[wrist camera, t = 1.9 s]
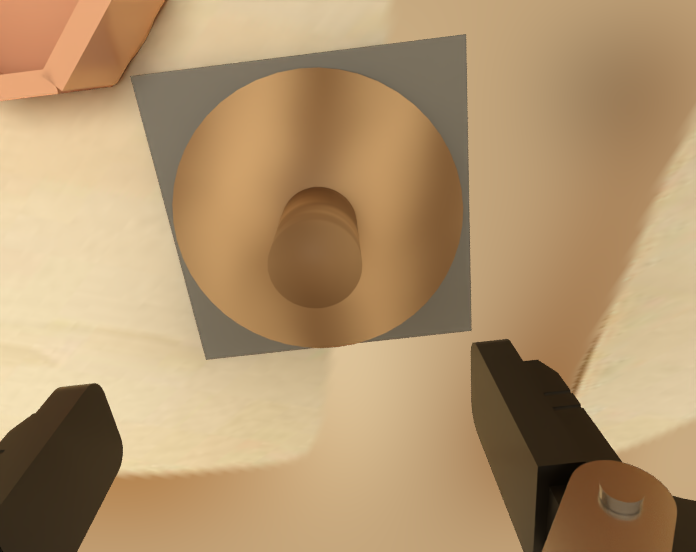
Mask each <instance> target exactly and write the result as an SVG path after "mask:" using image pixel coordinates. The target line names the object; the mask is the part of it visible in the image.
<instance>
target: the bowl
mask: <svg viewBox="0 0 696 552" xmlns="http://www.w3.org/2000/svg"><path fill="white" fill-rule="evenodd" d="M164 1H165V0H0V101H4V100H12V99H20V98H28V97H36V96H44V95H52V94H60V93H68V92H75V91H83V90H90V89H97V88H105V87H112V86H113V85H114V84H117V83H118V81H119V79H120V77H121V76H122V74H123V72H124V70H125V69H126V67H127V65H128V64H129V62H130V60H131V59H132V58H133V57H134V56H135V55H136V54H137V52H138V51H139V49H140V48H141V46H142V45H143V43H144V42H145V40H146V38H147V36H148V34H149V32H150V30H151V28H152V25H153V22H154V19H155V17H156V15H157V13H158V12H159V10H160V8H161V6H162V5H163V3H164Z"/></svg>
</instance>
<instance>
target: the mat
mask: <svg viewBox="0 0 696 552" xmlns="http://www.w3.org/2000/svg"><path fill="white" fill-rule="evenodd" d="M466 65H467V63H466V34H464V35H457V36H448V37H440V38H432V39H424V40H417V41H409V42H401V43H393V44H385V45H377V46H369V47H361V48H353V49H345V50H337V51H329V52H321V53H313V54H305V55H297V56H289V57H281V58H273V59H265V60H257V61H249V62H241V63H233V64H225V65H217V66H209V67H201V68H193V69H185V70H177V71H169V72H161V73H153V74H145V75H137V76H130V77H131V81H132V85H133V88H134V92H135V96H136V99H137V103H138V107H139V111H140V114H141V118H142V122H143V126H144V129H145V133H146V137H147V141H148V144H149V148H150V152H151V155H152V159H153V163H154V167H155V170H156V174H157V178H158V182H159V185H160V189H161V193H162V197H163V200H164V204H165V208H166V212H167V215H168V219H169V223H170V226H171V230H172V234H173V238H174V241H175V245H176V249H177V253H178V256H179V260H180V264H181V268H182V271H183V275H184V279H185V283H186V286H187V290H188V294H189V297H190V301H191V305H192V309H193V312H194V316H195V320H196V324H197V327H198V331H199V335H200V339H201V342H202V346H203V350H204V353H205V357H206V360H208V359H217V358H226V357H235V356H244V355H253V354H262V353H272V352H281V351H290V350H299V349H308V348H311V347H300V346H294V345H288V344H284V343H281V342H277V341H274V340H270V339H268V338H265V337H263V336H260V335H258V334H256V333H253V332H252V331H250V330H248V329H246V328H245V327H243V326H241V325H239V324H238V323H236V322H235V321H234V320H232V319H231V318H229V317H228V316H227V315H225V314H224V313H223V312H222V311H221V310H220V309H219V308H218V307H216V306H215V305H214V304H213V303H212V302H211V301H210V299H209V298H208V297H207V296H206V295H205V294H204V292H203V291H202V290H201V289H200V287H199V286H198V284H197V283H196V281H195V280H194V278H193V277H192V275H191V274H190V272H189V270H188V268H187V265H186V263H185V261H184V259H183V257H182V254H181V251H180V248H179V245H178V242H177V238H176V233H175V228H174V223H173V207H172V203H173V190H174V183H175V178H176V174H177V169H178V166H179V163H180V161H181V158H182V155H183V153H184V150H185V148H186V146H187V144H188V143H189V141H190V139H191V137H192V135H193V134H194V132H195V130H196V129H197V128H198V127H199V125H200V124H201V123H202V121H203V120H204V119H205V117H206V116H207V115H208V114H209V113H210V112H211V111H212V110H213V109H214V108H215V107H216V106H217V105H218V104H219V103H220V102H222V101H223V100H224V99H226V98H227V97H228V96H230V95H231V94H233V93H234V92H235V91H237V90H238V89H240V88H242V87H244V86H246V85H248V84H250V83H252V82H254V81H255V80H258V79H261V78H264V77H267V76H269V75H272V74H275V73H278V72H283V71H288V70H293V69H299V68H317V67H319V68H331V69H340V70H345V71H349V72H353V73H358V74H361V75H363V76H366V77H368V78H371V79H374V80H376V81H378V82H380V83H382V84H384V85H386V86H387V87H389V88H391V89H393V90H395V91H396V92H398V93H399V94H401V95H402V96H403V97H405V98H406V99H407V100H409V101H410V102H411V103H413V104H414V105H415V106H416V107H417V108H418V109H419V110H420V111H421V112H422V113H423V114H424V115H425V116H426V117H427V118H428V119H429V120H430V122H431V123H432V124H433V126H434V127H435V128H436V130H437V131H438V132H439V133H440V135H441V137H442V138H443V140H444V142H445V144H446V146H447V147H448V149H449V151H450V153H451V156H452V158H453V161H454V163H455V166H456V168H457V172H458V176H459V180H460V184H461V189H462V200H463V222H462V230H461V236H460V241H459V245H458V248H457V251H456V254H455V257H454V260H453V262H452V264H451V267H450V269H449V271H448V273H447V275H446V277H445V278H444V280H443V281H442V283H441V285H440V286H439V288H438V289H437V291H436V292H435V293H434V294H433V295H432V297H431V298H430V299H429V300H428V301H427V303H426V304H425V305H424V306H422V307H421V308H420V309H419V310H418V311H417V312H416V313H415V314H414V315H413V316H411V317H410V318H409V319H407V320H406V321H404V322H403V323H402V324H400V325H399V326H397V327H395V328H393V329H392V330H390V331H388V332H386V333H384V334H382V335H379V336H377V337H375V338H372V339H370V340H366V341H363V342H372V341H380V340H389V339H400V338H409V337H417V336H427V335H436V334H445V333H454V332H464V331H471V280H470V229H469V228H470V227H469V226H470V225H469V171H468V122H467V119H468V117H467V66H466ZM363 342H360V343H363Z"/></svg>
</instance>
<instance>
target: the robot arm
mask: <svg viewBox="0 0 696 552" xmlns="http://www.w3.org/2000/svg"><path fill="white" fill-rule="evenodd" d="M471 402H472V413H473V418H474V423H475V427H476V430H477V433H478V436H479V439H480V441H481V444H482V446H483V449H484V451H485V454H486V457H487V459H488V462H489V464H490V467H491V469H492V472H493V474H494V477H495V480H496V482H497V485H498V487H499V490H500V492H501V495H502V497H503V500H504V503H505V505H506V508H507V510H508V512H509V516H510V518H511V521H512V523H513V526H514V528H515V531H516V533H517V536H518V539H519V541H520V543H521V546H522V549H523V551H524V552H696V501H693V500H688V499H683V498H679V497H675V496H672V495H671V493H670V492H669V490H668V489H667V488H666V487H665V486H664V485H663V484H662V483H661V482H660V481H659V480H658V479H656V478H655V477H654V476H652V475H651V474H649V473H648V472H645V471H644V470H642V469H640V468H638V467H635V466H633V465H630V464H626V463H623V462H622V461H621V460H620V458H619V457H618V456H617V454H616V453H615V451H614V450H613V449H612V447H611V446H610V445H609V443H608V442H607V440H606V439H605V438H604V436H603V435H602V433H601V432H600V431H599V429H598V428H597V426H596V425H595V424H594V422H593V421H592V420H591V418H590V417H589V415H588V414H587V413H586V411H585V410H584V408H581V405H580V403H579V401H578V400H577V399H576V397H575V396H574V395H573V393H572V394H571V392H570V389H569V388H568V386H567V385H566V383H565V382H564V381H563V379H562V378H561V377H560V375H559V374H558V373H557V372H556V371H554V370H553V369H551V368H549V367H548V366H546V365H545V364H543V363H542V362H540V361H539V360H531V361H523V360H522V359H521V357H520V356H519V354H518V352H517V351H516V349H515V348H514V346H513V345H512V343H511V342H510V340H508V339H503V340H494V341H486V342H476V343H473V344H472V346H471ZM122 456H123V446H122V440H121V437H120V434H119V431H118V429H117V426H116V423H115V421H114V418H113V415H112V412H111V410H110V407H109V404H108V401H107V399H106V396H105V393H104V391H103V389H102V388H101V386H100V385H98V384H96V383H94V384H84V385H75V386H66V387H59V388H57V389H56V390H55V391H54V392H53V393H52V394H51V395H50V397H49V398H48V399H47V400H46V401H45V403H44V404H43V405H42V406H41V407H40V409H39V410H38V411H37V412H36V413H35V414H32V415H31V416H30V417H28V418H27V419H25V420H24V421H23V422H21V423H20V424H19V425H17V426H16V427H15V428H13V429H12V430H11V431H9V432H8V433H7V435H6V436H5V437H4V438H3V439H2V440H1V442H0V552H77V551H78V549H79V547H80V545H81V543H82V541H83V539H84V537H85V535H86V533H87V531H88V529H89V527H90V525H91V524H92V522H93V520H94V518H95V515H96V514H97V512H98V510H99V508H100V506H101V504H102V502H103V500H104V498H105V496H106V494H107V492H108V490H109V488H110V487H111V484H112V483H113V481H114V479H115V477H116V475H117V473H118V471H119V469H120V466H121V462H122Z"/></svg>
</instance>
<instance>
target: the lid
mask: <svg viewBox="0 0 696 552" xmlns="http://www.w3.org/2000/svg"><path fill="white" fill-rule="evenodd" d="M172 207H173V223H174V228H175V233H176V238H177V242H178V245H179V248H180V251H181V254H182V257H183V259H184V261H185V263H186V265H187V268H188V270H189V272H190V274H191V275H192V277H193V278H194V280H195V281H196V283H197V284H198V286H199V287H200V289H201V290H202V291H203V292H204V294H205V295H206V296H207V297H208V298H209V299H210V301H211V302H212V303H213V304H214V305H215V306H216V307H218V308H219V309H220V310H221V311H222V312H223V313H224V314H225V315H227V316H228V317H229V318H231V319H232V320H234V321H235V322H236V323H238V324H239V325H241V326H243V327H245V328H246V329H248V330H250V331H252V332H253V333H256V334H258V335H260V336H263V337H265V338H268V339H270V340H274V341H277V342H281V343H284V344H288V345H294V346H300V347H311V348H329V347H340V346H346V345H352V344H356V343H360V342H363V341H366V340H370V339H372V338H375V337H377V336H379V335H382V334H384V333H386V332H388V331H390V330H392V329H393V328H395V327H397V326H399V325H400V324H402V323H403V322H404V321H406V320H407V319H409V318H410V317H411V316H413V315H414V314H415V313H416V312H417V311H418V310H419V309H420V308H421V307H422V306H424V305H425V304H426V303H427V301H428V300H429V299H430V298H431V297H432V295H433V294H434V293H435V292H436V291H437V289H438V288H439V286H440V285H441V283H442V281H443V280H444V278H445V277H446V275H447V273H448V271H449V269H450V267H451V264H452V262H453V260H454V257H455V254H456V251H457V248H458V245H459V241H460V236H461V230H462V222H463V200H462V189H461V184H460V180H459V176H458V172H457V168H456V166H455V163H454V161H453V158H452V156H451V153H450V151H449V149H448V147H447V146H446V144H445V142H444V140H443V138H442V137H441V135H440V133H439V132H438V131H437V130H436V128H435V127H434V126H433V124H432V123H431V122H430V120H429V119H428V118H427V117H426V116H425V115H424V114H423V113H422V112H421V111H420V110H419V109H418V108H417V107H416V106H415V105H414V104H413V103H411V102H410V101H409V100H407V99H406V98H405V97H403V96H402V95H401V94H399V93H398V92H396V91H395V90H393V89H391V88H389V87H387V86H386V85H384V84H382V83H380V82H378V81H376V80H374V79H371V78H368V77H366V76H363V75H361V74H358V73H353V72H349V71H345V70H340V69H331V68H319V67H317V68H299V69H293V70H288V71H283V72H278V73H275V74H272V75H269V76H267V77H264V78H261V79H258V80H255V81H254V82H252V83H250V84H248V85H246V86H244V87H242V88H240V89H238V90H237V91H235V92H234V93H233V94H231V95H230V96H228V97H227V98H226V99H224V100H223V101H222V102H220V103H219V104H218V105H217V106H216V107H215V108H214V109H213V110H212V111H211V112H210V113H209V114H208V115H207V116H206V117H205V119H204V120H203V121H202V123H201V124H200V125H199V127H198V128H197V129H196V130H195V132H194V134H193V135H192V137H191V139H190V141H189V143H188V144H187V146H186V148H185V150H184V153H183V155H182V158H181V161H180V163H179V166H178V169H177V174H176V178H175V183H174V190H173V203H172Z"/></svg>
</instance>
